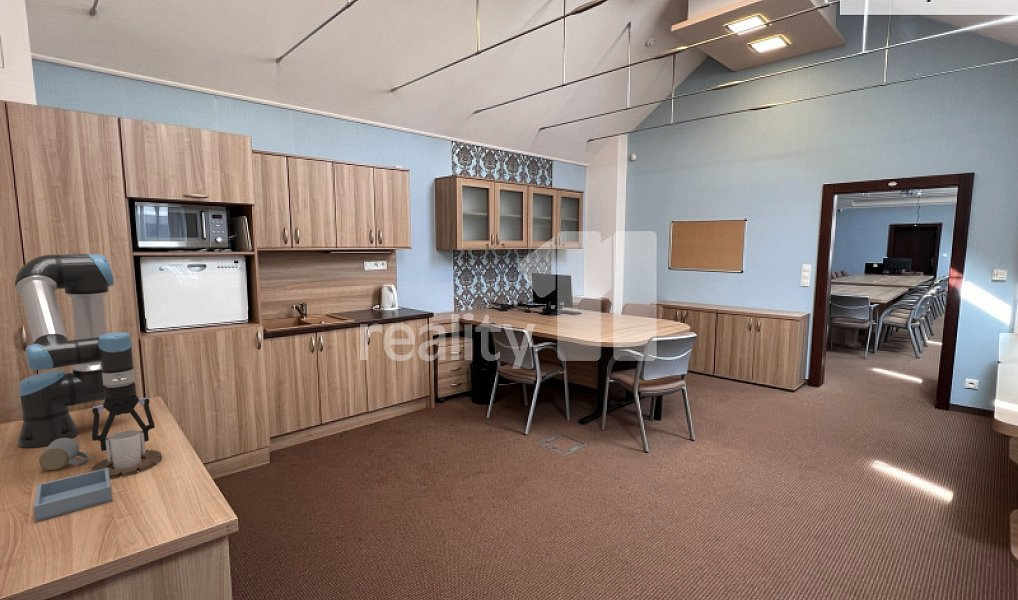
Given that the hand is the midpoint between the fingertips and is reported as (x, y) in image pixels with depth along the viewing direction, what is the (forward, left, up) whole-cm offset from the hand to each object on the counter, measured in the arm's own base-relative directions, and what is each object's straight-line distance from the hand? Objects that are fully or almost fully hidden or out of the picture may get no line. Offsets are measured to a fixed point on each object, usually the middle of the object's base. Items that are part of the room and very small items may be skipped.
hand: (126, 455), depth 148 cm
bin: (+16, -12, -3) cm, 20 cm away
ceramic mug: (-14, -14, -3) cm, 20 cm away
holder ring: (0, 0, -3) cm, 3 cm away
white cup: (0, 0, -3) cm, 3 cm away
